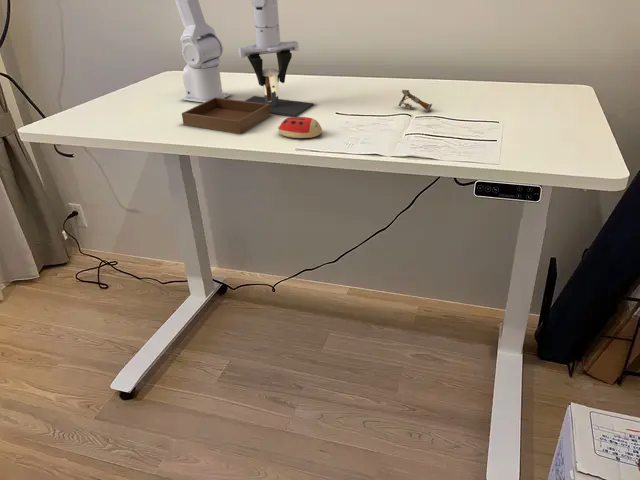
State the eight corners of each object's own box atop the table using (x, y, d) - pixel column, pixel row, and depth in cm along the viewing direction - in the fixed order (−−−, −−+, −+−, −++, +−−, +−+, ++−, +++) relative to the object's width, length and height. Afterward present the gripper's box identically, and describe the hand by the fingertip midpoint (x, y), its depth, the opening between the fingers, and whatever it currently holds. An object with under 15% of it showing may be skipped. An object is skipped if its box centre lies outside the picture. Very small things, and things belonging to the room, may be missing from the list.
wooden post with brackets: (397, 102, 139) (404, 86, 136) (424, 118, 137) (433, 103, 134) (394, 104, 137) (402, 88, 134) (422, 121, 136) (430, 105, 133)
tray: (183, 125, 133) (181, 113, 131) (216, 108, 143) (214, 97, 141) (240, 133, 126) (239, 121, 125) (270, 115, 136) (269, 104, 135)
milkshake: (281, 108, 140) (279, 67, 135) (260, 107, 141) (257, 66, 136) (286, 102, 144) (284, 62, 138) (265, 101, 144) (263, 62, 139)
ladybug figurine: (319, 140, 121) (319, 124, 119) (275, 139, 122) (273, 123, 121) (324, 129, 127) (323, 114, 125) (281, 128, 128) (280, 113, 126)
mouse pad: (232, 108, 142) (232, 107, 142) (254, 97, 150) (254, 96, 150) (294, 116, 135) (294, 115, 135) (314, 104, 142) (313, 103, 142)
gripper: (241, 32, 127) (247, 91, 134) (301, 25, 131) (304, 83, 138) (233, 27, 133) (240, 84, 139) (291, 20, 137) (294, 76, 144)
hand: (271, 83), depth 139 cm, fingers closed on milkshake, 5 cm apart
